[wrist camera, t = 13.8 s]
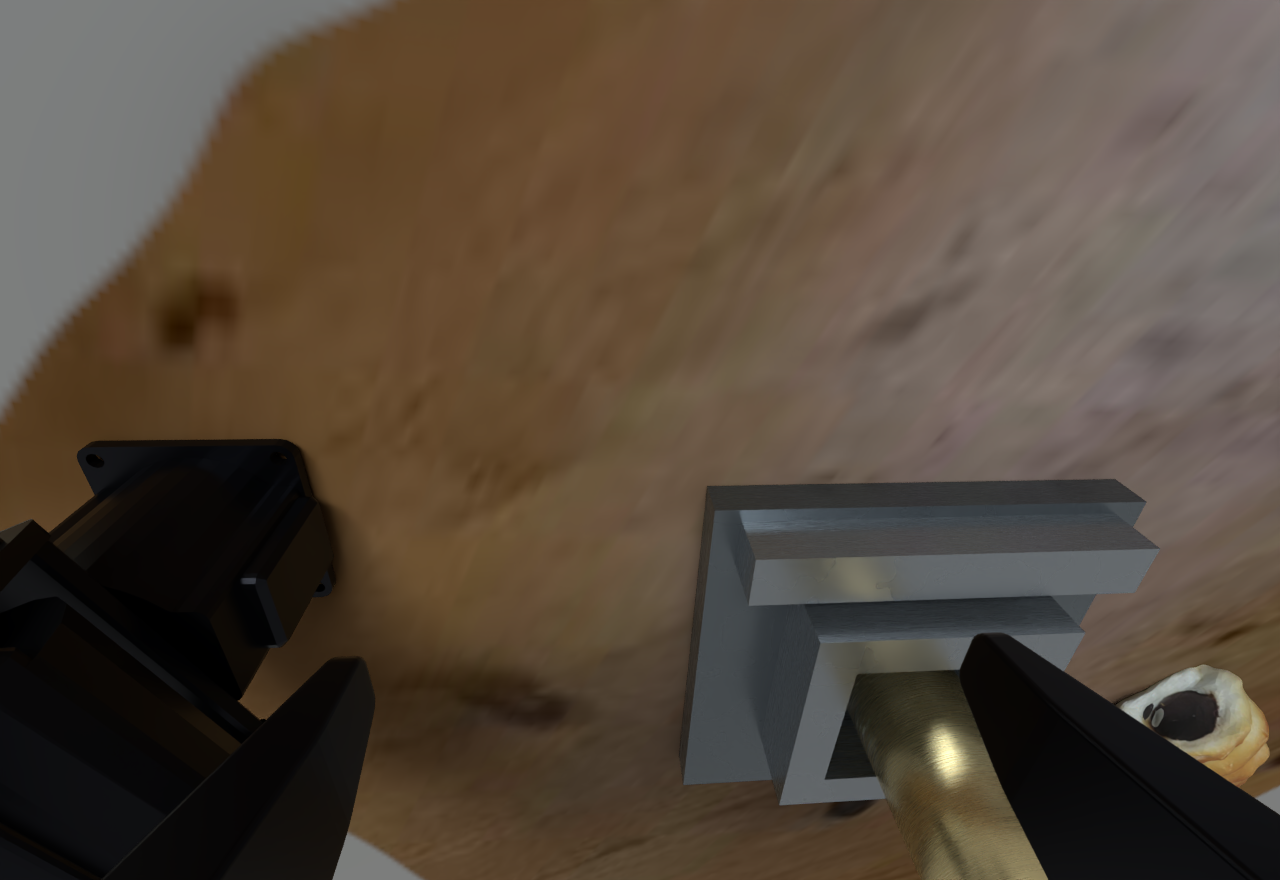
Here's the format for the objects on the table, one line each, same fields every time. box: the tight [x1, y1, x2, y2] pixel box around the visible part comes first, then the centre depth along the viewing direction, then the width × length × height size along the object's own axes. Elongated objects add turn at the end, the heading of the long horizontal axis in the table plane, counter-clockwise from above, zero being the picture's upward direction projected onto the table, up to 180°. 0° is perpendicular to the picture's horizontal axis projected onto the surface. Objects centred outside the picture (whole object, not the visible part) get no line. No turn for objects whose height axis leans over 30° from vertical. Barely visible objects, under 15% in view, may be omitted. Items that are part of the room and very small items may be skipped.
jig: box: [679, 479, 1160, 805], centre depth 25 cm, size 16×16×4 cm
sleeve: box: [847, 670, 1048, 880], centre depth 20 cm, size 4×4×13 cm
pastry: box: [1115, 665, 1269, 787], centre depth 31 cm, size 9×7×4 cm
